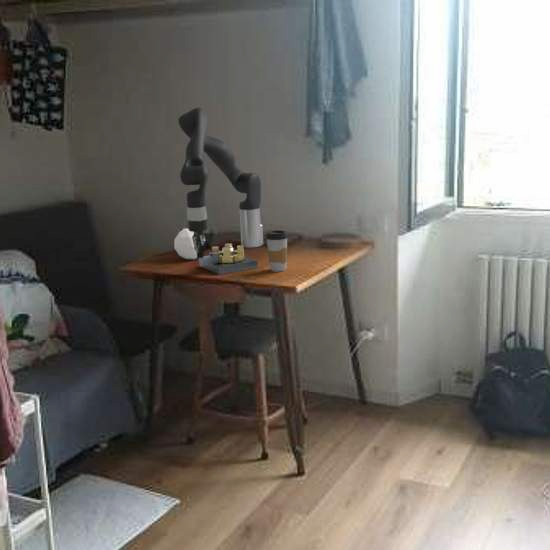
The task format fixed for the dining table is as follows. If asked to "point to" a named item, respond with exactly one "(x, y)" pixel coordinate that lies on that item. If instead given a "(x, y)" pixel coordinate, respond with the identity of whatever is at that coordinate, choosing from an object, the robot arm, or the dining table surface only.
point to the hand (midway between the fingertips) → (200, 261)
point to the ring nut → (219, 258)
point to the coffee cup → (277, 250)
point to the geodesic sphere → (185, 244)
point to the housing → (232, 265)
